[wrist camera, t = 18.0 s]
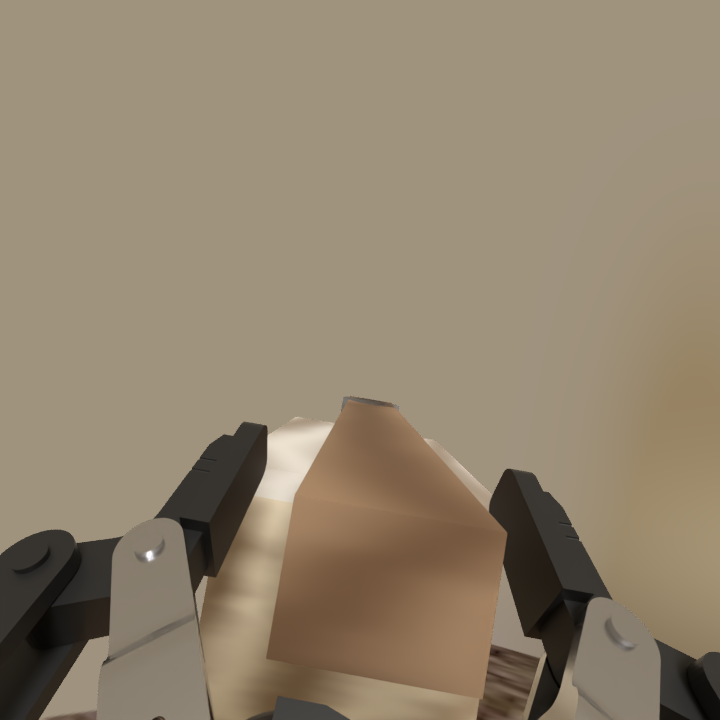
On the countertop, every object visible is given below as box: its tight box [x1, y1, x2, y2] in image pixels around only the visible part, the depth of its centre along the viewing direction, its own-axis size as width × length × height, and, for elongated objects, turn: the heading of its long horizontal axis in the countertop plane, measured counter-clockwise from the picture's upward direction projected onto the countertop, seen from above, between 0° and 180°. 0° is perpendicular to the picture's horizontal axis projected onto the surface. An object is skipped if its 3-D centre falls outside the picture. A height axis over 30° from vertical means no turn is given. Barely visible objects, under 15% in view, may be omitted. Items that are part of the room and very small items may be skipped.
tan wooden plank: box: [266, 396, 507, 699], centre depth 18 cm, size 5×25×3 cm, turn 179°
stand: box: [200, 417, 492, 720], centre depth 23 cm, size 14×16×32 cm
